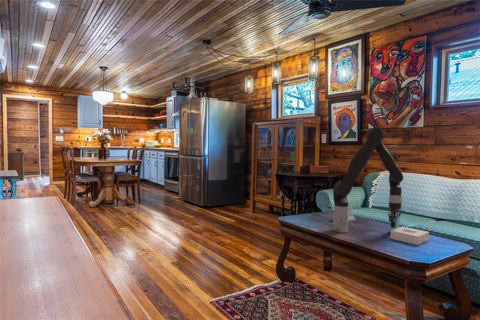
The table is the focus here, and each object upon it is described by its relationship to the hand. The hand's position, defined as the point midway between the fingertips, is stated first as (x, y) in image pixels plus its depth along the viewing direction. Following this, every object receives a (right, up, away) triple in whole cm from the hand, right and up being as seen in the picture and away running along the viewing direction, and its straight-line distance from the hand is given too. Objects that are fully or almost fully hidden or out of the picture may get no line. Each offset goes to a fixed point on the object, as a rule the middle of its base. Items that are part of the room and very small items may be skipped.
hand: (394, 226), depth 209 cm
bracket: (0, -4, 0) cm, 4 cm away
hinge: (-22, -2, +33) cm, 40 cm away
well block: (+2, -5, -15) cm, 16 cm away
